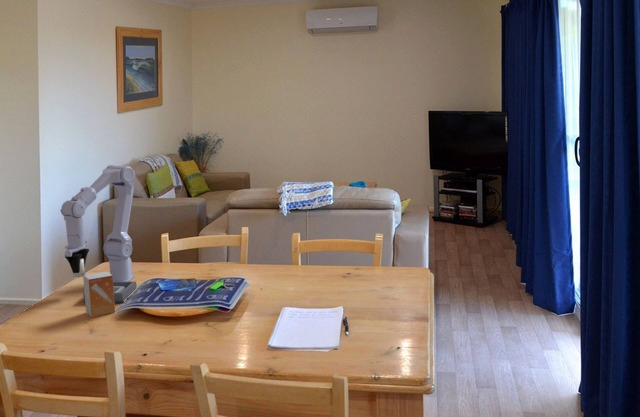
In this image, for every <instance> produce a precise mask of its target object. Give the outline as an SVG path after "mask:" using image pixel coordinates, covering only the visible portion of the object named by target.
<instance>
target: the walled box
mask: <svg viewBox="0 0 640 417" xmlns="http://www.w3.org/2000/svg"><path fill="white" fill-rule="evenodd" d="M136 288H137V289H138V287H137V281H134V280H133V281H131V280H130V281H113V289H114V302H115V304H124V303H125V302H124V300H125V299H126V298H127V297H128V296H129V295H130V294H131V293H132V292H133V291H134V290H135V289H136ZM123 302H124V303H123ZM83 303H85V292H84V291H83Z"/></svg>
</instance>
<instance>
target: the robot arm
mask: <svg viewBox="0 0 640 417" xmlns="http://www.w3.org/2000/svg"><path fill="white" fill-rule="evenodd" d="M135 176H136V173H135V171H134V170H133V168H132V167H131V166H130V165H114V164H110V165H107V167H105V168H103V170H102V173H101V174H100V176H99V177H97V179H96V180H95V181H94V182H93V183H92V184H91V185H90V186H89V187H88V186H85V187H81V188H80V191H78V192H77V194H76V195H74V196H73V195H72V197H71V199H70V200H69V199H68V200H66V201H64V202H63V203H62V205H61V208H60V213H61V216H63V221H65V228H66V239H67V245H65V246H64V249H66V250H65V251H64V258H65V259H66V260H67V262H68V264H69V267H70V268H71V271H72V274H73V273H79V271H80V259H81V258H83V259H84V269H85V268H86V263H87V262H86V261H87V257H88V254H89V252H90V249H89V248H87V247H89V244H88V243H89V242H88V241H87V240H86V241H85V233H84V222H83V216H84V215H85V213H86V210H87V208H88V207H89V206H90V205H91V204H92V203H93V202H95V200H96V199H97V195H98V194H99V193H100V192H101V191H102V190H104V189H105V188H106V187H108V186H109V185H113V187H114V188H116V190H117V191H118V195H117V200H116V207H115V213H114V219H113V226H112V232H110V233H109V234H108V235H106V241H105V242H104V244H103V252H104V255H106V256H107V258H106V259H108V264H109V273H110V274H111V275H112V276H113V281H131V280H133V278H134V277H135V276H136V274H133V263H132V262H133V261H132V259H131V257H130V256H131V255H132V253H133V244H132V242H133V239H132V238H131V237H130V235H129V234H128V230H129V224H130V217H131V211H132V204H133V198H134V190H135V186H134V185H135V184H134V183H135Z"/></svg>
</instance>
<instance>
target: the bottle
mask: <svg viewBox="0 0 640 417" xmlns="http://www.w3.org/2000/svg"><path fill="white" fill-rule="evenodd" d="M85 271H86V270H85V269H84V259H83V258H81V259H80V271H79V273H73V272H72V275H73V276H72V277H73V278H83V275H86V272H85Z"/></svg>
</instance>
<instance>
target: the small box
mask: <svg viewBox="0 0 640 417" xmlns="http://www.w3.org/2000/svg"><path fill="white" fill-rule="evenodd" d="M82 281H83V289H84V291H83V293H84V292H85V313H86V314H87V315H88V316H89V317H90V318H93V317H99V316H104V315H110V314H115V313H116V305H115V304H116V303H115V302H114V289H113V276H112V275H111V274H110V272H108V271H100V272H95V273H90V274H85V275H83V277H82ZM114 312H115V313H114Z"/></svg>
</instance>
